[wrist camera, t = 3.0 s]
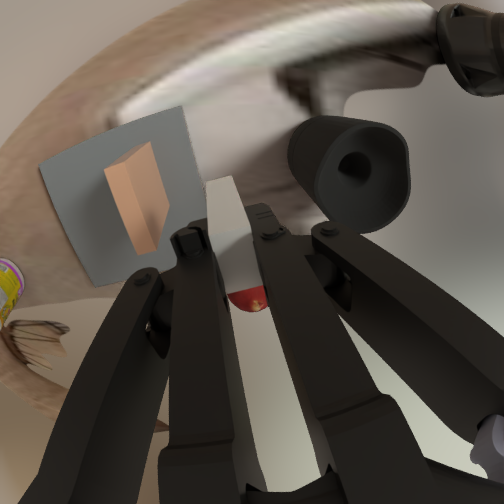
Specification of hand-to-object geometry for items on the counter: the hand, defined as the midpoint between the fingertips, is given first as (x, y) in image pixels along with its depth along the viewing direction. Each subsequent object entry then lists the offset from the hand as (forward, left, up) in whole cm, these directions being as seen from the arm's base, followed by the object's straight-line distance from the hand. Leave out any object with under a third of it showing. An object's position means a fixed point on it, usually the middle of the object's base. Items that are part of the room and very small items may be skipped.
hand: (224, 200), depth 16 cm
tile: (+7, 0, -12) cm, 13 cm away
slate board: (+11, +3, -13) cm, 17 cm away
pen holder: (-11, +2, -13) cm, 18 cm away
